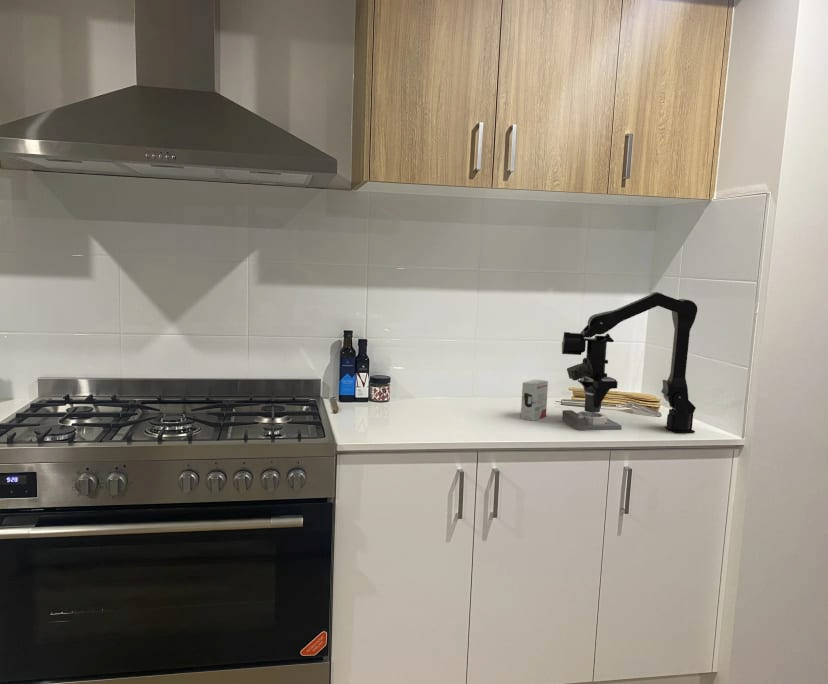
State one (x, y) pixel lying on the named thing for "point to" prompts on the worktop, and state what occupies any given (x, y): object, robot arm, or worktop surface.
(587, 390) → the lens
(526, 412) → the ink box
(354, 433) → the worktop surface
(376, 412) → the worktop surface
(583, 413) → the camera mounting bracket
